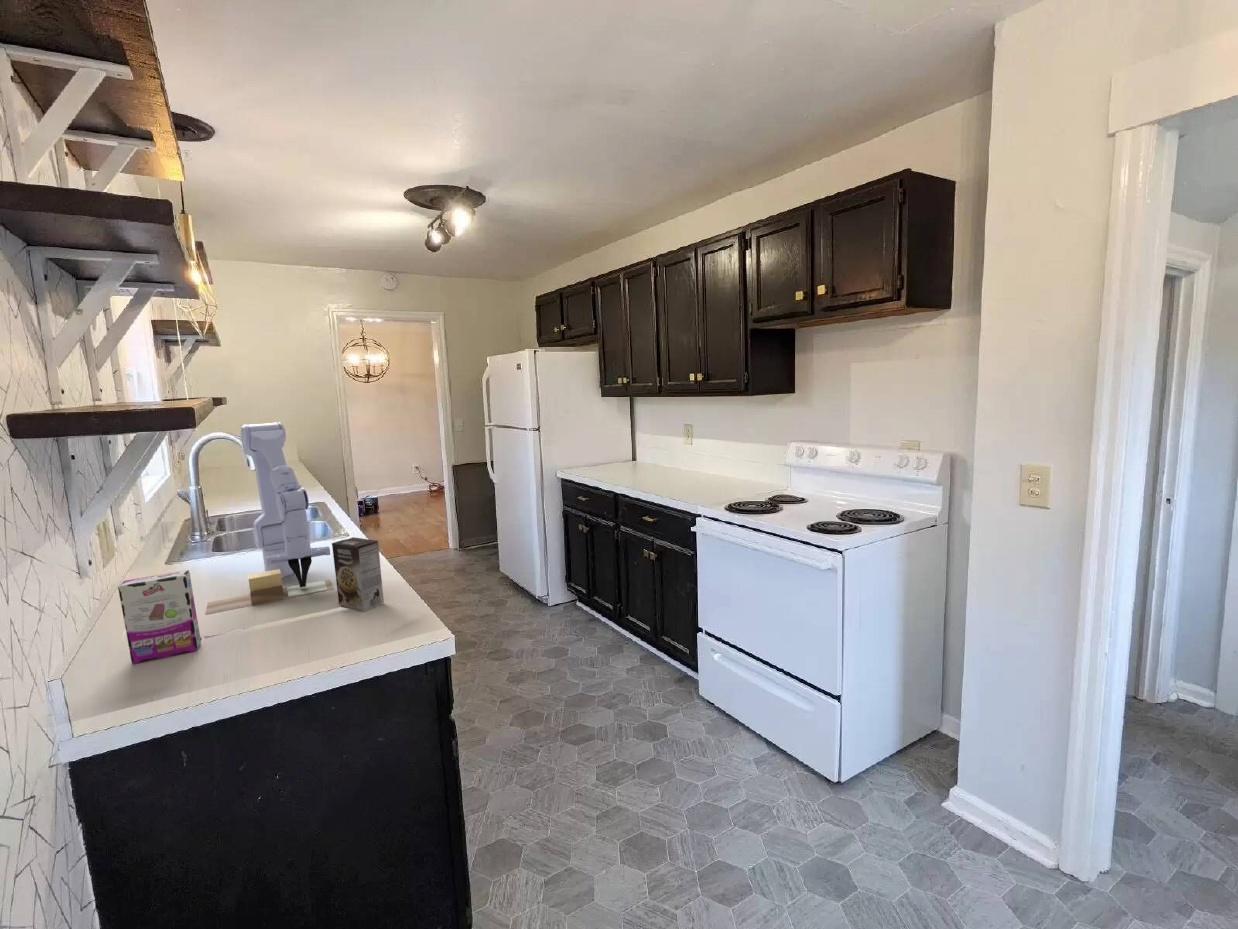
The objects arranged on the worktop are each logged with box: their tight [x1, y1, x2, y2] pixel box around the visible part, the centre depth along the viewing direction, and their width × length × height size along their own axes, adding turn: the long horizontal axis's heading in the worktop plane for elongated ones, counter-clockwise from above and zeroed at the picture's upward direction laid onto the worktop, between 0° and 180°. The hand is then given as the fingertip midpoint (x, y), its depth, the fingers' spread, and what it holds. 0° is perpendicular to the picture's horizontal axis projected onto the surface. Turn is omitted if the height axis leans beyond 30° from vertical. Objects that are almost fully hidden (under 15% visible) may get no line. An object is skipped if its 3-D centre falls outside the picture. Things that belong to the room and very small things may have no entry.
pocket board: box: [204, 579, 335, 616], centre depth 154 cm, size 10×28×4 cm, turn 121°
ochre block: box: [248, 569, 283, 591], centre depth 153 cm, size 4×7×6 cm, turn 121°
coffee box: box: [331, 536, 385, 613], centre depth 146 cm, size 9×6×16 cm
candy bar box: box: [117, 569, 202, 665], centre depth 123 cm, size 11×5×16 cm, turn 117°
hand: (302, 586), depth 158 cm, fingers closed
